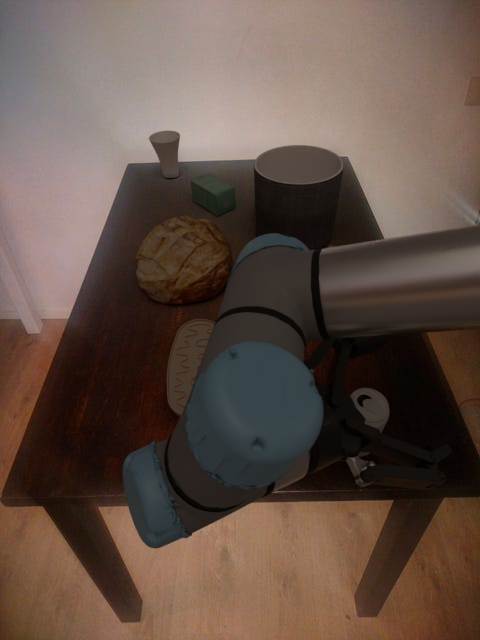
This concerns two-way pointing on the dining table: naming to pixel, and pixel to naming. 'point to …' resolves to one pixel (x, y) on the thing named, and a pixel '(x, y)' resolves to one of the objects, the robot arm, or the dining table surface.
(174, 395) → the anatomical model
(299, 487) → the dining table surface
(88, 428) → the dining table surface
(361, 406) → the beverage can
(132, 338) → the dining table surface
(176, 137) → the cup
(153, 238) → the bread
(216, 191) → the box
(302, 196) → the planter
